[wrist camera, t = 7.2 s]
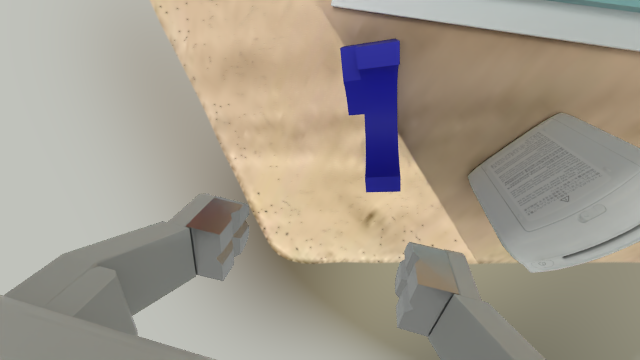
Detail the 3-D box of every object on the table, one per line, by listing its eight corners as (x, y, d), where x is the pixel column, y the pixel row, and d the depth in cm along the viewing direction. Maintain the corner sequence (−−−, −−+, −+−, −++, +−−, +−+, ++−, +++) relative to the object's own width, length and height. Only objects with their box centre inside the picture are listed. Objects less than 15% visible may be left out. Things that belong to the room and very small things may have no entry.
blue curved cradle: (344, 46, 25) (335, 50, 20) (395, 38, 24) (399, 40, 19) (355, 164, 30) (349, 192, 25) (397, 163, 29) (400, 191, 24)
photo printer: (484, 201, 29) (543, 299, 19) (458, 176, 28) (503, 263, 18) (590, 135, 24) (752, 217, 14) (561, 102, 24) (710, 162, 13)
